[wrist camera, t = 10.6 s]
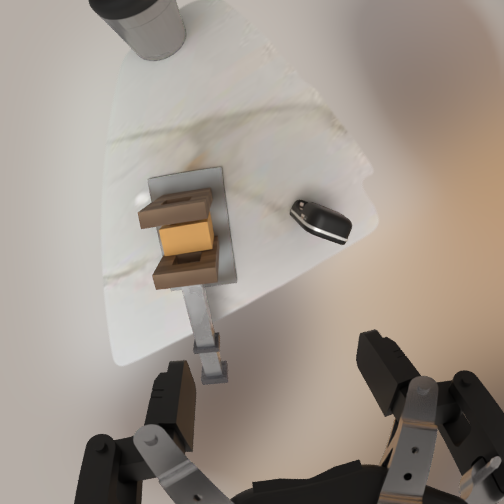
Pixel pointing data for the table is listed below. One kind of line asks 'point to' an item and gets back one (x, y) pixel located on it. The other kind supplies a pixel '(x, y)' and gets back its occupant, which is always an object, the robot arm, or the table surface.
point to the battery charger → (322, 221)
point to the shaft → (205, 335)
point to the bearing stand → (184, 210)
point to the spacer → (187, 236)
